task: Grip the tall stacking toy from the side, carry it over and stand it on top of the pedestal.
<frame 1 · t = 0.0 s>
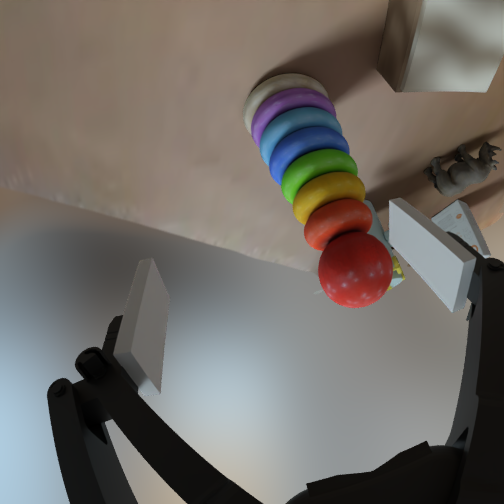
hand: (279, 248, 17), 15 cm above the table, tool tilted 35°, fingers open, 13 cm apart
small box: (448, 209, 59), on the table
rhino figurine: (457, 150, 39), on the table
stacking toy: (283, 102, 26), on the table
character sculpture: (355, 210, 50), on the table
pedestal: (440, 21, 18), on the table
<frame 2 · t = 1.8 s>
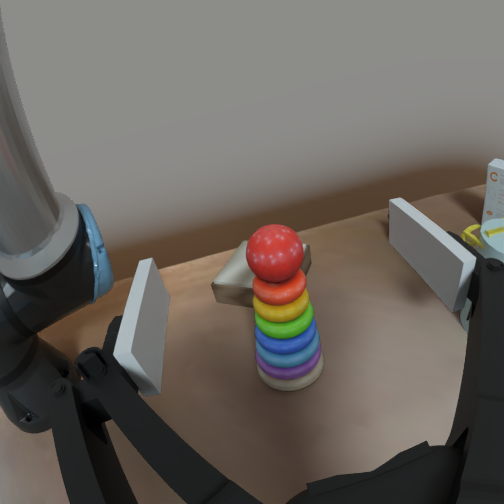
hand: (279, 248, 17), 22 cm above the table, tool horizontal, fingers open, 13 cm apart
small box: (500, 226, 50), on the table
stacking toy: (291, 367, 36), on the table
character sculpture: (481, 314, 35), on the table
pedestal: (266, 282, 51), on the table
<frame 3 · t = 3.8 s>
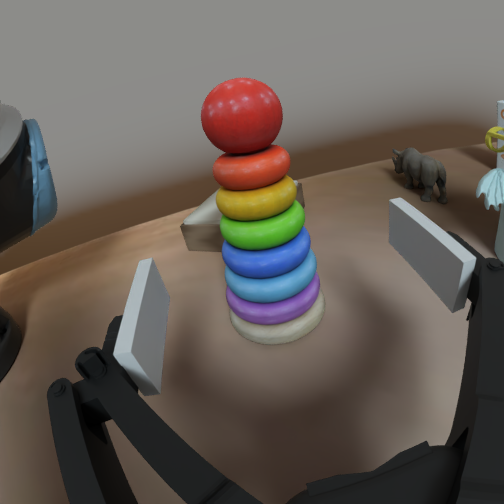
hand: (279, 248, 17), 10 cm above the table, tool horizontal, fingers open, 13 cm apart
rhino figurine: (415, 189, 43), on the table
stacking toy: (279, 316, 27), on the table
pedestal: (249, 226, 42), on the table
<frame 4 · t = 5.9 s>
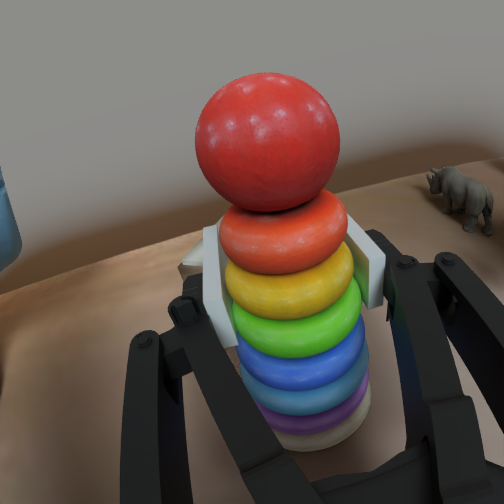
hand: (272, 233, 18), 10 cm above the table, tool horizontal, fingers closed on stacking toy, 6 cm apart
rhino figurine: (454, 214, 35), on the table
stacking toy: (310, 404, 19), on the table, touching gripper
pedestal: (263, 264, 34), on the table
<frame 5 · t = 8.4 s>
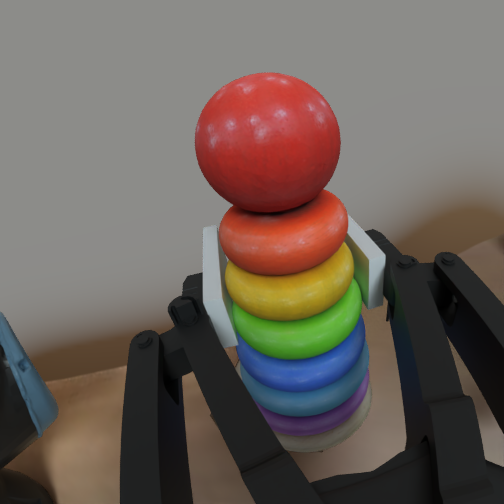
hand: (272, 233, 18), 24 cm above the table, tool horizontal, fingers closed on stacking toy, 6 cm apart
stacking toy: (310, 404, 19), point 14 cm above the table, touching gripper
when the fingers open (15 cm above the table, at t = 10.9 s): stacking toy drops 1 cm, resting on pedestal.
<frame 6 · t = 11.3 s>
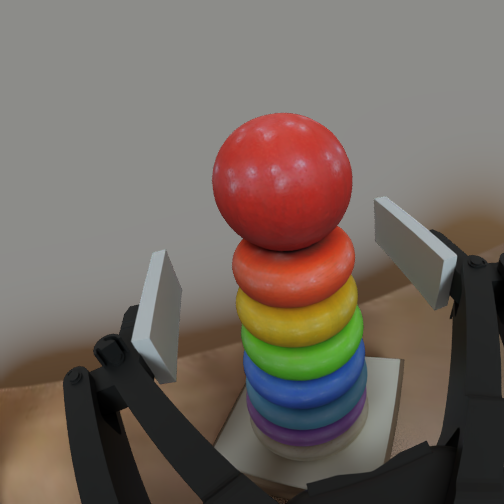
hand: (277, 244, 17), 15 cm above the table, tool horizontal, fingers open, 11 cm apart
stacking toy: (310, 415, 20), point 4 cm above the table, touching pedestal
pedestal: (315, 434, 22), on the table
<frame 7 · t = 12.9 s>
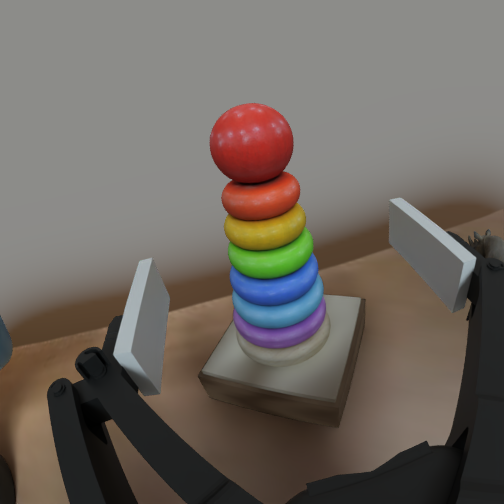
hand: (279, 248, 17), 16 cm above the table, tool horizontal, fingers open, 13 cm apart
rhino figurine: (493, 286, 30), on the table
stacking toy: (285, 336, 27), point 4 cm above the table, touching pedestal
pedestal: (292, 361, 29), on the table
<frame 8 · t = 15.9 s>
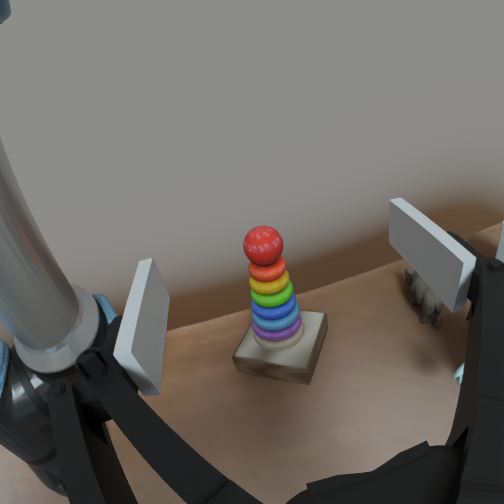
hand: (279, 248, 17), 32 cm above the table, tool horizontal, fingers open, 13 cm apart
rhino figurine: (418, 304, 52), on the table
stacking toy: (279, 335, 49), point 4 cm above the table, touching pedestal
pedestal: (284, 349, 51), on the table
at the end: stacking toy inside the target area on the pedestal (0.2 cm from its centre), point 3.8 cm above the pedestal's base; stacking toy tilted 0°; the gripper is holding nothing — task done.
